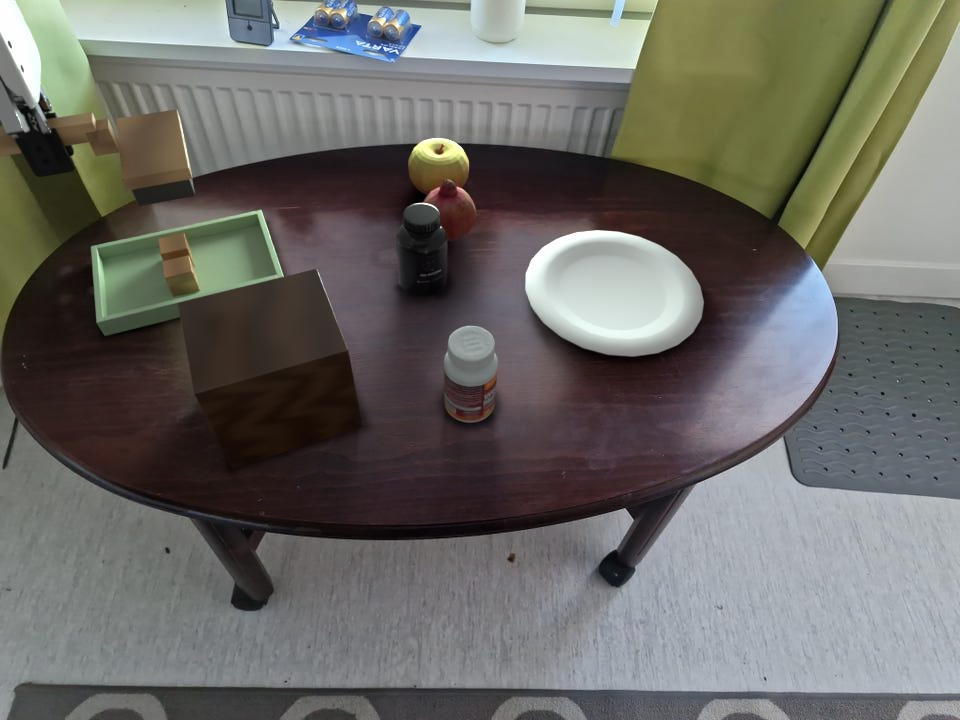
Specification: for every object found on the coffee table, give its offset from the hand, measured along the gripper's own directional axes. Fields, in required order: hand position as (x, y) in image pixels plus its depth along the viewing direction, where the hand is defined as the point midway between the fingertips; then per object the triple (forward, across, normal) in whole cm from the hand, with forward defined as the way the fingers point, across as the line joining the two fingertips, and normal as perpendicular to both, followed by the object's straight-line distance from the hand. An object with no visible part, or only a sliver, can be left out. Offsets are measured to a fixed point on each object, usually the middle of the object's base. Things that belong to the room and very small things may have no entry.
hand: (55, 163), depth 59 cm
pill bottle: (+29, +19, +34) cm, 48 cm away
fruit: (+29, -11, +42) cm, 52 cm away
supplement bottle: (+29, -3, +35) cm, 46 cm away
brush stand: (+29, +11, +13) cm, 34 cm away
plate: (+29, +8, +60) cm, 67 cm away
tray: (+29, -16, +5) cm, 33 cm away
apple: (+29, -23, +45) cm, 58 cm away
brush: (+3, 0, +3) cm, 4 cm away
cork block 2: (+28, -13, +4) cm, 31 cm away
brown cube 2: (+28, -18, +4) cm, 34 cm away
